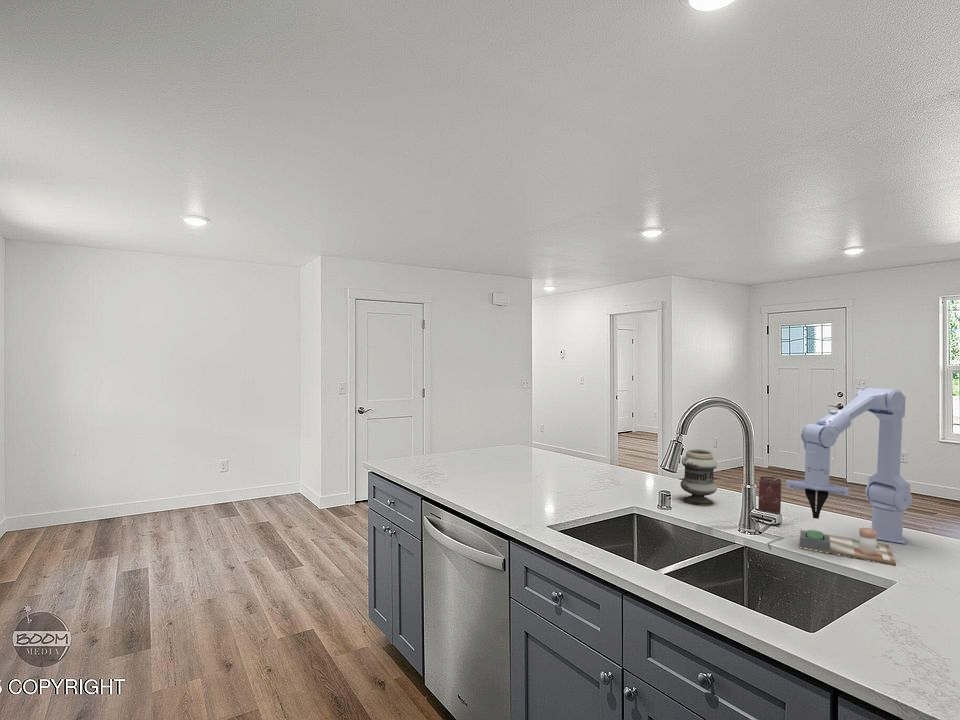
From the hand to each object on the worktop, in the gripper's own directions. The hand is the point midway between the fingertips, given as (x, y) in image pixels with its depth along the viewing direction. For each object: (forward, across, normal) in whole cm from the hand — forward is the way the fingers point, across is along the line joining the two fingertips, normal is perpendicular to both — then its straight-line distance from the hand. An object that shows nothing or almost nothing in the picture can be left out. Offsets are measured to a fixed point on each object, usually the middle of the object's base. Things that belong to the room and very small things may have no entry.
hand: (815, 517), depth 149 cm
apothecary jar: (+8, -35, +29) cm, 47 cm away
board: (+8, +7, +4) cm, 12 cm away
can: (+8, -12, +17) cm, 23 cm away
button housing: (+8, 0, 0) cm, 8 cm away
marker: (+7, +12, 0) cm, 14 cm away
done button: (+7, 0, 0) cm, 7 cm away
